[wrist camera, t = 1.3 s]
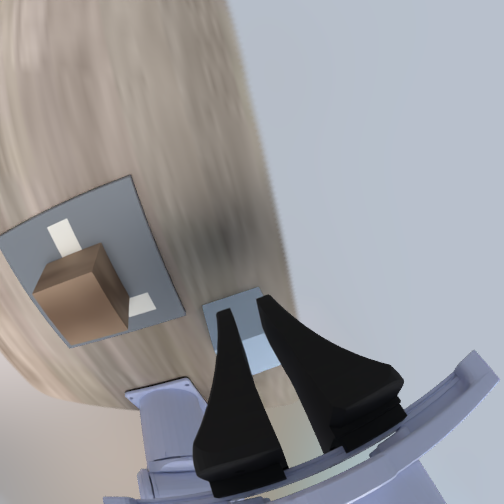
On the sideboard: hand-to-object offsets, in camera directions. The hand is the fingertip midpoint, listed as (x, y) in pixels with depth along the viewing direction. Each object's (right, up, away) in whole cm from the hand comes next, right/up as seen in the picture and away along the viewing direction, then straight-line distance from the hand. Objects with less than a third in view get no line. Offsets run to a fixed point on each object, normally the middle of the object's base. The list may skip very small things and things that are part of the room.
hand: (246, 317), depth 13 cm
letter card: (-12, +1, +5) cm, 13 cm away
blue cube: (-1, -3, +12) cm, 12 cm away
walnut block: (-12, +1, +5) cm, 13 cm away
